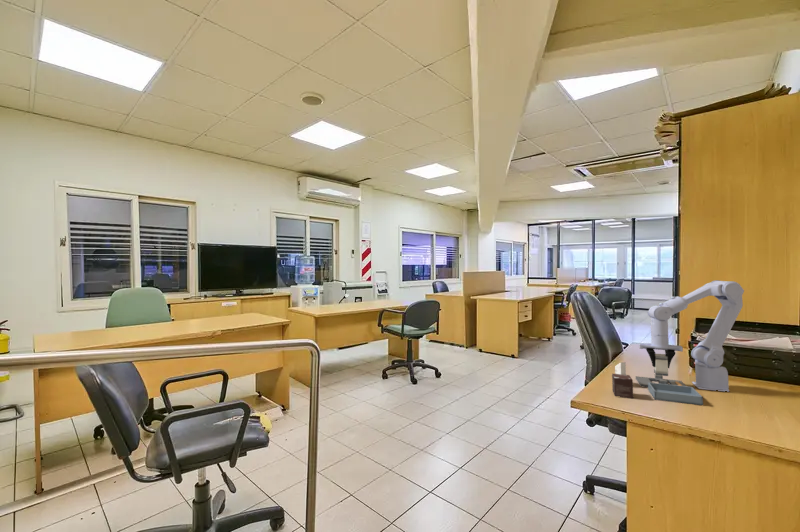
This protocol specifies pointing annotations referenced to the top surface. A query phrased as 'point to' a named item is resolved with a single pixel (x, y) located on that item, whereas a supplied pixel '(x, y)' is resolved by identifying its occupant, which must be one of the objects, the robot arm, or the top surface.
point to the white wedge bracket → (620, 368)
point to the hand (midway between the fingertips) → (660, 366)
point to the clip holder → (644, 380)
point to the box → (622, 385)
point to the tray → (675, 393)
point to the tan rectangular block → (661, 365)
